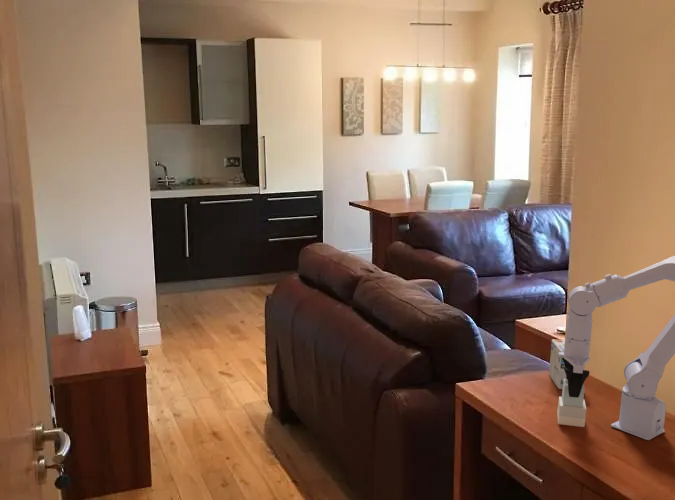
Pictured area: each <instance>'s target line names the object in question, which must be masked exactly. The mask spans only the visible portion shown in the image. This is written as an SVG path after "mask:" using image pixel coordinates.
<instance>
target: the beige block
mask: <svg viewBox="0 0 675 500" xmlns="http://www.w3.org/2000/svg"><path fill="white" fill-rule="evenodd" d="M557 404H558V405H557V409H558V411H559V416H565V417H573V418H581V419H585V420H586V417H587V416H586V414H587V406H586V400H585V398H583V407H576V406H567V405H563V403H562V396H558V402H557Z"/></svg>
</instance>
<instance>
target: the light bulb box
mask: <svg viewBox="0 0 675 500" xmlns="http://www.w3.org/2000/svg"><path fill="white" fill-rule="evenodd" d="M564 347H565V339H551V346H550V348H551V349H550V357H549V359H550V360H549V369H548V371H549V372H548V376H549V378H550V379H551V381H553V383H554V384H555V386H556V388H558V390H562V389H563V379H566V373H565V371H564V367H565V364H564V362H563V359H562V357H559V352H564ZM585 365H586V364H585ZM585 365H584V366H583V370H585V368H586V367H585Z"/></svg>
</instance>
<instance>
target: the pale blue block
mask: <svg viewBox="0 0 675 500" xmlns="http://www.w3.org/2000/svg"><path fill="white" fill-rule="evenodd" d="M561 390H562V391H561V397H562V403H563V405H567V406H576V407H583V399H585V396H584V395H585V382H584V383H583V386H582V389H581V392H580V395H579V397H578V398H576V397H569V392H568V380H567V379H563V389H561Z"/></svg>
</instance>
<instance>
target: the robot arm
mask: <svg viewBox="0 0 675 500" xmlns="http://www.w3.org/2000/svg"><path fill="white" fill-rule="evenodd" d="M662 280H668V281H672V282H675V255H672V256H670V257H668V258H665V259H664V260H661V261H659V262H657V263H653V264H651V265H650V266H646V267H644V268H642V269H639V270H638V271H635V272H632V273H631V274H628V275H625V276H621V275H619V274H616V273H615V274H613V275H612V274H611V273H608V274H605V275H604V278H602V279H599V280H597V281H594V282H592V283H590V282H589V281H588V282H586V283H585V284H584V286H582V285H580V286H579V285H578V286H575V287H574V288H572V289H571V290H570V291H569V294H568V295H567V301H568V305H569V306H568V311H567V317H566V326H565V327H566V328H565V339H564V340H565V347H564V352H559V357H562V359H563V362H564V364H565V367H564V371H565V373H566V379H567V380H568V392H569V397H576V398H578V397H579V395H580V392H581V389H582V386H583V383H584V384H585V381H586V380H587V378H588V377H589V375H590V370H588V369H587V370H585V369H584V370H583V366H584V365H587V363H588V362H589V361H590V359H591V356H590V351H591V350H590V349H591V348H590V347H591V341H592V340H591V339H592V331H593V318H592V317H593V313H594V311H595V310H596V308H599V307H600V308H602V307H603V306H606V305H608V304H610V303H614V302H617V301H620V300H622V299H625V298H627V296H628V294H629V293H630V291H631V290H635V289H637V288H641V287H644V286H647V285H650V284H654V283H657V282H659V281H660V282H661V281H662ZM673 356H675V314H674V315H673V316H672V317H671V318H670V320H669V321H668V323H667V324H665V326H664V328H662V330H661V331H660V332H659V334H658V335H657V337H656V338H655V339H654V341H653V342H652V343H651V345H649V347H648V348H647V349H646V350H645V351H643V352H641V353H640V354H639V355H638V357H636V358H635V359H634V360H631V361H630V362H628V363H627V364H626V365H625V367H624V369H623V375H624V378H625V380H626V382H625V383H626V384H625V385H624V386H623V387H622V391H621V399H620V406H619V407H620V408H619V409H620V410H619V419H618V420H617V421H615V422H613V423H611V424H610V427H612V428H615V429H618V430H620V431H622V432H625V433H628V434H630V435H632V436H636V437H638V438H640V439H643V440H646V441H650V440H652V439H653V438H655V437H657V436H659V435H661V434H663V433H665V431H666V430H665V429H664V427H665V418H666V412H667V411H666V410H667V405H666V402H665V401H664V400H662V399H660V398H659V397H657V396H656V392H657V390H658V384H659V382H660V380H661V379H662V378H663V375H664V372H665V368H666V365H668V363H670V361H671V359H672V358H673Z"/></svg>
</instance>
